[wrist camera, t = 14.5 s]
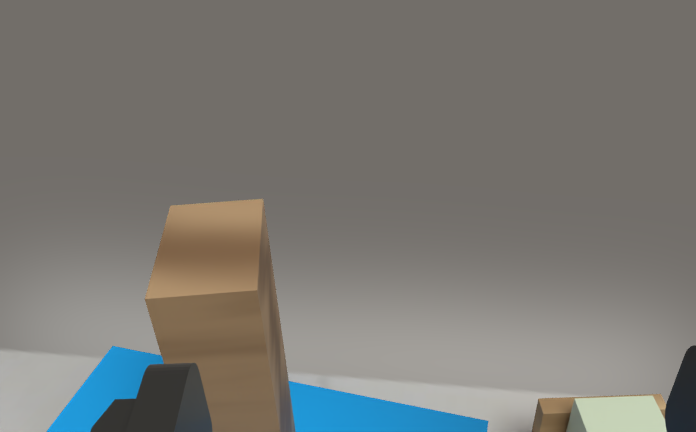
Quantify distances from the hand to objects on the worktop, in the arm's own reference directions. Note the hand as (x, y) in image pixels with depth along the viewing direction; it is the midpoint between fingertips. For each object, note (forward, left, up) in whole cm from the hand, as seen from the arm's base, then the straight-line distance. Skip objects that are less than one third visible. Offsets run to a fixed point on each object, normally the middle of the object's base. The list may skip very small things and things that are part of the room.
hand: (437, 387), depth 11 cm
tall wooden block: (+8, +13, -23) cm, 27 cm away
